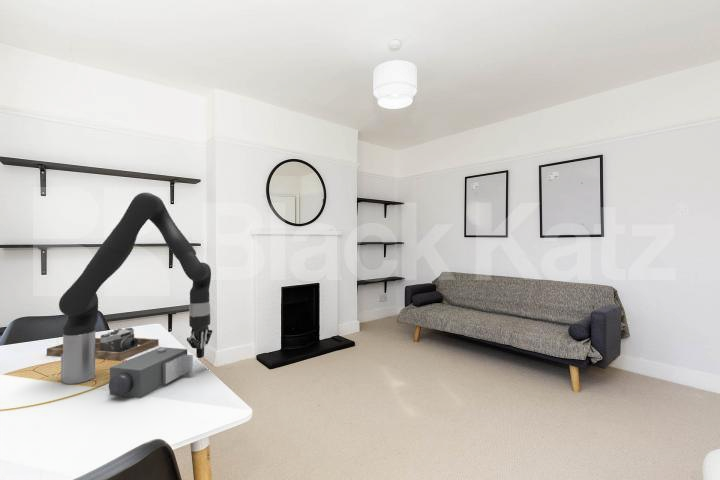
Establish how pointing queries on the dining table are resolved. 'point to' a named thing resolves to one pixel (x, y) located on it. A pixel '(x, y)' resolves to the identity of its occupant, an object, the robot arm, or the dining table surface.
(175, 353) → the camera housing
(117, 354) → the camera corral
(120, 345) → the camera
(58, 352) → the charger corral
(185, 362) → the battery door
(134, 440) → the dining table surface
